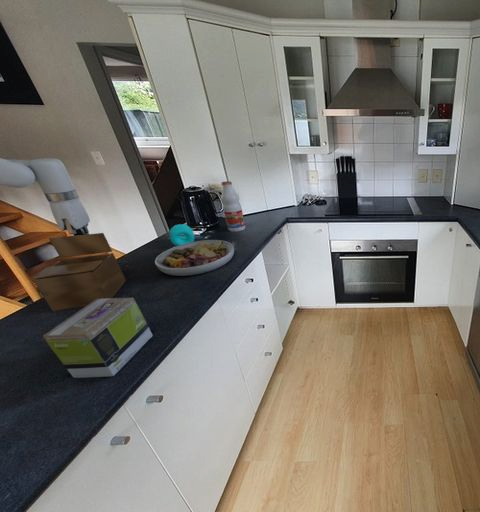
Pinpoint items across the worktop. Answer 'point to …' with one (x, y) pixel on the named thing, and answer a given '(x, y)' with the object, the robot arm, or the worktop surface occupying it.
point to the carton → (79, 281)
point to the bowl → (195, 257)
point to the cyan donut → (181, 230)
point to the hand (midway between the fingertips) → (87, 244)
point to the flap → (80, 245)
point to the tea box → (100, 337)
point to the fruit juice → (232, 208)
